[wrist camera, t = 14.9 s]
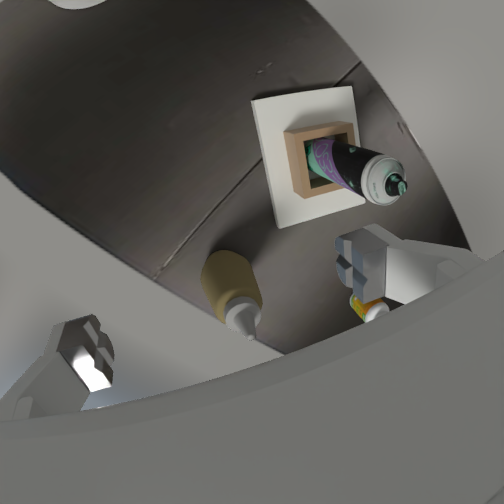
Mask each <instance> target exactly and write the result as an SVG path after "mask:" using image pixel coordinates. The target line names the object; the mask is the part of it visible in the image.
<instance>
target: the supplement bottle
mask: <svg viewBox="0 0 504 504" xmlns="http://www.w3.org/2000/svg"><path fill="white" fill-rule="evenodd" d="M350 305H351V307H352V308H353V309H354V310H355V311H356V312H357V314H358V315H359V316H360V317H361V318H362V319H363V320H364V322H365V323H366V322H368V321H371V320H373V319H375V318H377V317H380V316H382V315H384V314H386V313H388V312H389V308H388V306H387V305H386V304H385V303H384V302H383V301H382V300H381V299H380V298H378V299H375V300H373V301H370V302H368V303H365V304H363V303H362V302H361V301H360V300H359V299H358V298H357V297H356V296H355V295H354V294H352V295H351V298H350Z"/></svg>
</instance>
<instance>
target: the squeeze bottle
mask: <svg viewBox="0 0 504 504" xmlns="http://www.w3.org/2000/svg"><path fill="white" fill-rule="evenodd" d="M200 280H201V283H202V287H203V289H204V291H205V293H206V296H207V298H208V300H209V302H210V304H211V306H212V308H213V310H214V313H215V315H216V317H217V318H218V319H219V320H220V321H221V322H222V323H225V324H226V325H227V327H229V329H230V330H233V331H235V332H242V334H243V335H244V336H245V337H246V339H247V340H249V341H250V340H254V339H255V338H256V329H255V327H256V325H257V324H258V323H259V322H260V319H261V308H262V304H263V303H262V297H261V294H260V291H259V288H258V285H257V282H256V279H255V276H254V273H253V270H252V267H251V265H250V263H249V262H248V261H247V259H246V258H244V257H243V256H241V255H239V254H237V253H235V252H232V251H230V250H220V251H216V252H214V253H213V254H211V255H210V256H209V257H208V259H207V260H206V262H205V264H204V267H203V269H202V273H201V279H200Z"/></svg>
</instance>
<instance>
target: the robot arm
mask: <svg viewBox="0 0 504 504" xmlns="http://www.w3.org/2000/svg"><path fill="white" fill-rule="evenodd" d="M49 1H50V2H52V3H53V4H55V5H57V6H59V7H62V8H66V9H82V8H87V7H91V6H94V5H97V4H99V3H101V2H103V1H105V0H49ZM335 250H336V251H337V252H338V253H339V256H338V258H337V260H336V264H337V271H338V274H339V277H340V279H341V280H342V282H343V283H344V284H345V285H346V286H347V287H351V288H353V294H354V295H355V296H356V297H357V298H358V299H359V300H360V301H361V302H362V303H363V304H365V303H368V302H370V301H373V300H375V299H378V298H380V297H383V296H385V297H388V298H390V299H393V300H396V301H398V302H401V303H404V304H405V305H403V306H401V307H399V308H397V309H395V310H392V311H390V312H388V313H386V314H384V315H382V316H380V317H377V318H375V319H373V320H371V321H368V322H366V323H364V324H362V325H359V326H357V327H355V328H352V329H350V330H348V331H345V332H343V333H341V334H338V335H336V336H333V337H331V338H329V339H326V340H324V341H321V342H319V343H316V344H314V345H311V346H308V347H306V348H303V349H301V350H298V351H295V352H293V353H290V354H287V355H284V356H282V357H279V358H276V359H273V360H271V361H268V362H265V363H262V364H259V365H256V366H253V367H250V368H247V369H244V370H241V371H238V372H235V373H232V374H229V375H225V376H222V377H219V378H216V379H212V380H209V381H206V382H202V383H199V384H195V385H192V386H188V387H184V388H181V389H177V390H173V391H170V392H166V393H162V394H158V395H154V396H150V397H146V398H141V399H137V400H133V401H128V402H124V403H119V404H114V405H109V406H104V407H99V408H94V409H89V410H83V411H80V410H81V408H82V407H83V405H84V403H85V401H86V399H87V398H88V396H89V394H90V392H91V391H95V390H99V389H103V388H107V387H111V386H112V377H113V370H112V369H111V367H110V366H111V365H112V363H113V362H114V350H113V346H112V344H111V341H110V339H109V337H108V336H107V334H105V333H103V332H101V331H100V322H99V321H98V319H97V318H96V316H95V315H93V314H91V315H87V316H84V317H80V318H76V319H73V320H69V321H65V322H62V323H59V324H57V325H54V326H53V329H52V332H51V334H50V337H49V340H48V343H47V346H46V348H45V351H44V355H43V356H40V357H39V358H38V359H37V360H36V361H35V362H34V363H33V364H32V365H31V366H30V367H29V369H28V370H27V371H26V372H25V373H24V374H23V375H22V376H21V377H20V378H19V379H18V380H17V382H16V383H15V384H14V385H13V386H12V387H11V388H10V389H9V391H7V393H6V394H5V395H4V396H3V397H2V398H1V400H0V504H504V251H502V252H500V253H499V254H497V255H495V256H494V257H492V258H491V259H489V260H487V261H484V260H483V259H481V258H480V257H478V256H477V255H475V254H473V253H472V252H470V251H469V250H467V249H463V248H457V247H451V246H445V245H438V244H432V243H426V242H420V241H413V240H407V239H406V240H403V241H402V240H401V239H399V238H398V237H396V236H395V235H393V234H392V233H390V232H388V231H387V230H385V229H384V228H382V227H381V226H379V225H377V224H371V225H368V226H366V227H363V228H360V229H357V230H355V231H352V232H349V233H346V234H344V235H341V236H338V237H336V238H335Z"/></svg>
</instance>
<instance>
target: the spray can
mask: <svg viewBox="0 0 504 504" xmlns="http://www.w3.org/2000/svg"><path fill="white" fill-rule="evenodd" d="M304 149H305V155H306V161H307V168H308V169H309V170H310V171H312V172H314V173H316V174H318V175H320V176H322V177H324V178H326V179H328V180H330V181H332V182H334V183H336V184H338V185H340V186H342V187H344V188H346V189H348V190H350V191H352V192H354V193H356V194H358V195H360V196H361V197H363V198H365V199H367V200H369V201H371V202H373V203H375V204H379V205H389V204H392V203H393V202H395V201H396V200H397V199H398V198H399V197H400V196H401V195H402V194H403V193H404V192H405V191H406V190H407V183H406V181H405V180H406V176H405V171H404V168H403V166H402V164H401V163H400V162H399V161H398V160H396V159H394V158H393V157H391V156H388V155H385V154H382V153H378V152H375V151H372V150H368V149H365V148H361V147H358V146H354V145H350V144H347V143H343V142H339V141H335V140H332V139H328V138H324V137H320V138H315V139H310V140H306V141H305V142H304Z"/></svg>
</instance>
